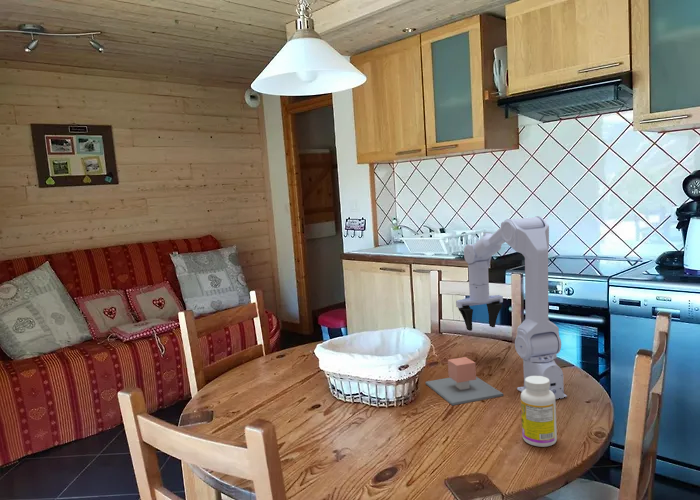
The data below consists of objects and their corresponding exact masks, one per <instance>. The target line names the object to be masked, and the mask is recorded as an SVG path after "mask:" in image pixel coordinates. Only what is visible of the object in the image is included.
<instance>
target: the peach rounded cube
mask: <svg viewBox="0 0 700 500" xmlns="http://www.w3.org/2000/svg"><path fill="white" fill-rule="evenodd" d="M447 369H448V371H447V373H448V378H452V379H453V380H455V381H456V382H457V383H459V382H465V381H471V380H476V377H477V371H476V370H477V369H476V361H473V360H472V359H470V358H468V357H466V356H464V357H458V358H452V359H447Z"/></svg>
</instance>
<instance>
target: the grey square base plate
mask: <svg viewBox="0 0 700 500" xmlns="http://www.w3.org/2000/svg"><path fill="white" fill-rule="evenodd" d="M425 385H426V386H427V387H429V388H430V389H431V390H432V391H433V392H435V393H436V394H438V395H439V396H440V397H441V399H442V398H443V399H444V400H445V401H446V402H447V403H449V404H450V405H451V406H457V405H461V404H468V403H472V402H477V401H483V400H484V401H485V400H489V399H494V398H500V397H504V393H503V392H501V391H500V390H499V389H497V388H496V387H494V386H492V385H491V384H489V383H487V382H485V381H484V380H482V379H481V378H479V377H478V376H476V380H471V381H465V382H459V383H457V382H456V381H455V380H453V379H452V378H450V377H445V378H439V379H435V380H428V381H427V380H426V381H425Z"/></svg>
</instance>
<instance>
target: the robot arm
mask: <svg viewBox="0 0 700 500" xmlns="http://www.w3.org/2000/svg"><path fill="white" fill-rule="evenodd" d="M505 243H506V244H507V245H508V246H509V247H511V248H512V249H513V250H514V251H515V252H516V253H520V254H522V256H523V257H524V284H525V285H524V290H525V291H524V292H525V293H524V294H525V295H524V299H525V300H524V301H525V313H524V314H525V316H524V318H525V319H524V320H523V321H522V322H521V323H520V324H519V325H518V326H517V329H516V337H515V340H514V347H515V352H516V353H517V354H518V356H519V357H520V359H522V363H523V386H518V387H516V389H517V391H519V392H521V393H522V391H523V390H525V389H526V386H525V378H526V377H529V376H543V377H546V378H548V379H549V381H550V386H549V390H550V391H552V392H553V393H554V395H555V400H558V399H559V398H560V399H564V397H565V398H567V397H568V395H567V394H565V390H564V389H565V386H564V372H563V370H562V368H561V367H560V366H559V365H558V364H557V363H556V361H555V359H557V357H558V356H557V355H558V354H559V353H560V352H561V349H562V340H561V337H560V334H559V330H560V329H559V326H557V324H555V323H554V322H553V321H550V319H549V249H550V226H549V224H548V223H547V221H546V220H545V219H544V218H543V217H542V216H534V217H522V218H521V217H520V218H506V219H505V220H504V221H502V222H501V223H500V227H499V228H498V229H497V230H496V231H495V232H494V233H490V232H488V233H487V232H486V233H483V235H482V237H481V238H480V239H477V240H476V241H475V243H467V244H466V245H465V246H464V249H463V257H464V261H465V262H466V263H467V266H468V267H467V269H468V289H469V290H468V291H469V297H467V298H463V299H457V300H456V301H455V304H456V306H455V307H456V308H457V310H458V311H459V312H460V314H461V316H462V319H463V320H464V321H463V322H464V323H465V328H466V330H467V331H469V332H472V331H473V313H474V308H471V307H473V306H481V305H486V307H487V308H486V309H487V313H488V325H489V327H490V328H495V327H496V323H497V319H498V316H499V313H500V312H501V310H502V308H503V304H502V303H503V302H504V298H503V297H504V296H503V295H500V294H495V295H490V284H489V283H490V282H489V268H490V266H491V260H492V256H493V255H495V254H497V253H498V252H500V250H501V249H502V245H503V244H505Z"/></svg>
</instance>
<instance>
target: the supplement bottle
mask: <svg viewBox="0 0 700 500" xmlns="http://www.w3.org/2000/svg"><path fill="white" fill-rule="evenodd" d="M525 386H526V389H525V390H523V391H522V392H521V393H520V408H521V409H520V412H521V414H520V415H521V434H522V435H521V436H522V438H523V441H524V442H526V443H527V444H529V445H531V446H533V447H534V446H535V447H542V448H543V447H544V448H546V447H551V446H552V445H555V444H556V442H557V439H558V435H557V434H558V430H557V407H556V401H557V400H556V399H555V395H554V393H553V392H552V391H550V390H549V386H550V381H549V379H548V378H546V377H543V376H529V377H526V378H525Z"/></svg>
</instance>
